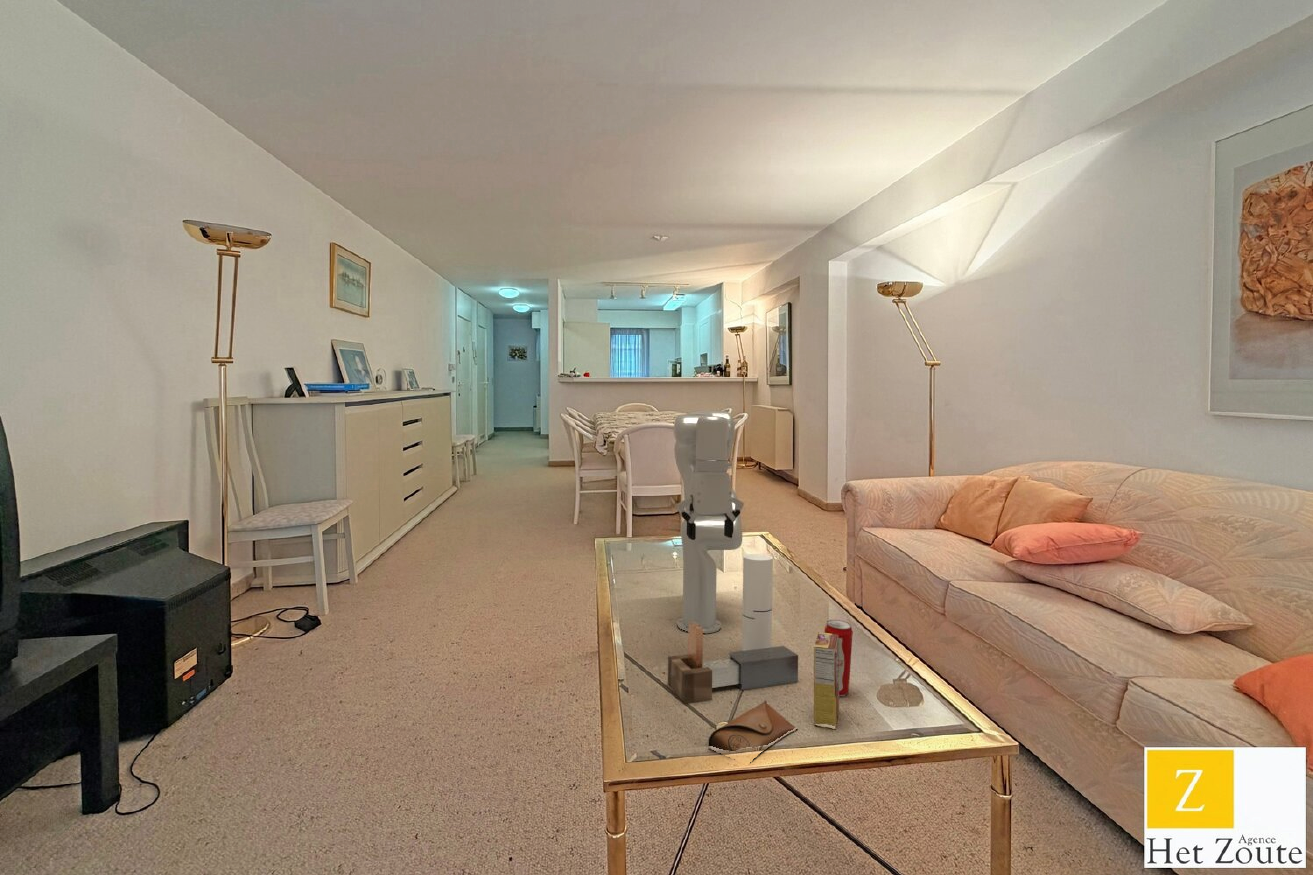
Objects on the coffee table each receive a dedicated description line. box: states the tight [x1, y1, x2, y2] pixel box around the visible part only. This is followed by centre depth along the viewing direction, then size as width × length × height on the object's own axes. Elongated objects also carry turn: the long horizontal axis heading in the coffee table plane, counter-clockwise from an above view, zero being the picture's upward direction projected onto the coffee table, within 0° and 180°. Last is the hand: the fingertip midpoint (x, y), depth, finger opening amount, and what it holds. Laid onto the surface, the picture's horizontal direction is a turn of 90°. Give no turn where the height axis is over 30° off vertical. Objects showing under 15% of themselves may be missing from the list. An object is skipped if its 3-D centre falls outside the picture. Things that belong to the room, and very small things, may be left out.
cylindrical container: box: [741, 553, 774, 651], centre depth 144 cm, size 7×7×25 cm
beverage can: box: [823, 619, 854, 697], centre depth 126 cm, size 6×6×15 cm
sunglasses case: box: [707, 700, 796, 751], centre depth 106 cm, size 18×7×7 cm
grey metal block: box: [728, 645, 799, 691], centre depth 131 cm, size 6×14×6 cm, turn 109°
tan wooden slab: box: [687, 622, 741, 689], centre depth 128 cm, size 4×14×13 cm, turn 110°
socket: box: [667, 653, 713, 704], centre depth 125 cm, size 10×6×6 cm, turn 20°
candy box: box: [813, 632, 840, 726], centre depth 114 cm, size 9×4×15 cm, turn 158°
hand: (710, 537), depth 142 cm, fingers open, 9 cm apart
